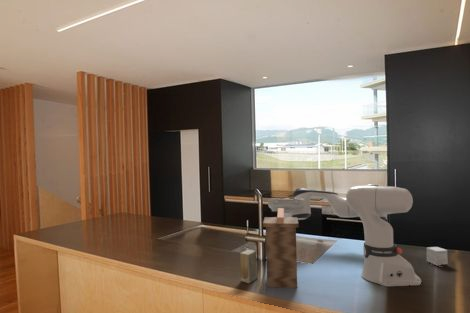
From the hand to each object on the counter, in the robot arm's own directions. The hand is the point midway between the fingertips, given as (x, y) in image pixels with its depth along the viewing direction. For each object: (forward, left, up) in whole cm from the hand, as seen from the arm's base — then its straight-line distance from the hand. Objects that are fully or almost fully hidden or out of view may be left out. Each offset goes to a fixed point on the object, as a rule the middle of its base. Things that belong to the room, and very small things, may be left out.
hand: (286, 199), depth 166 cm
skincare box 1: (+17, +36, -29) cm, 50 cm away
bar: (+3, +33, -3) cm, 33 cm away
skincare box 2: (-69, +9, -29) cm, 76 cm away
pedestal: (+3, +37, -29) cm, 47 cm away
